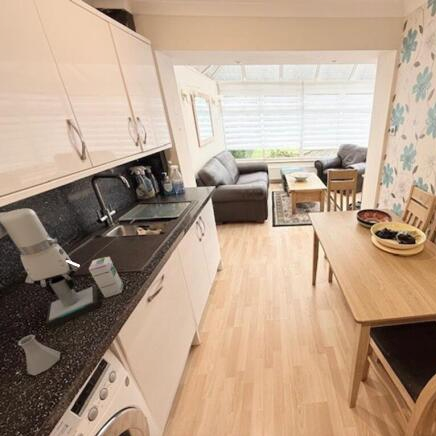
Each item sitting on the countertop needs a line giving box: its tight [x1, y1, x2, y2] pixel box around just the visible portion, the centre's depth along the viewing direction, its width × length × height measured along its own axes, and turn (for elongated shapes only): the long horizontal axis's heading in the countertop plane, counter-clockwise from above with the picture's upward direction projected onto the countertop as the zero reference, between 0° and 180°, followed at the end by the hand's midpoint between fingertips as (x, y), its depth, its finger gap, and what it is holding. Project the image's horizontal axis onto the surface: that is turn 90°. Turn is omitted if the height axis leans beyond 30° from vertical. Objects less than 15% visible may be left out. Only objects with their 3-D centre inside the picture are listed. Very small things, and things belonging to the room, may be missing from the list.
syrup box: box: [88, 255, 124, 299], centre depth 92 cm, size 6×6×14 cm
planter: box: [49, 275, 79, 306], centre depth 85 cm, size 4×4×10 cm
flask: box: [17, 334, 61, 376], centre depth 67 cm, size 7×7×10 cm
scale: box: [45, 285, 100, 330], centre depth 88 cm, size 14×12×3 cm
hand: (63, 289), depth 84 cm, fingers closed on planter, 4 cm apart
